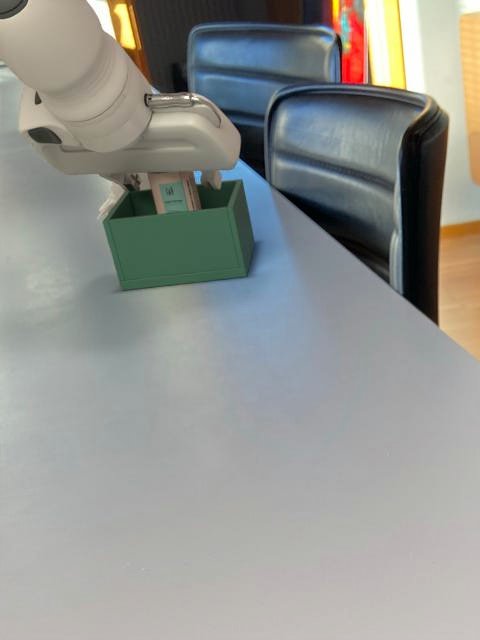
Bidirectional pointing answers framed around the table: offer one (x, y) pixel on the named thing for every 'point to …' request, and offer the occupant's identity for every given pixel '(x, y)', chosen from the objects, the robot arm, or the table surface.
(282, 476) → the table surface
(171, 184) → the teal-label supplement bottle
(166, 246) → the green storage bin
